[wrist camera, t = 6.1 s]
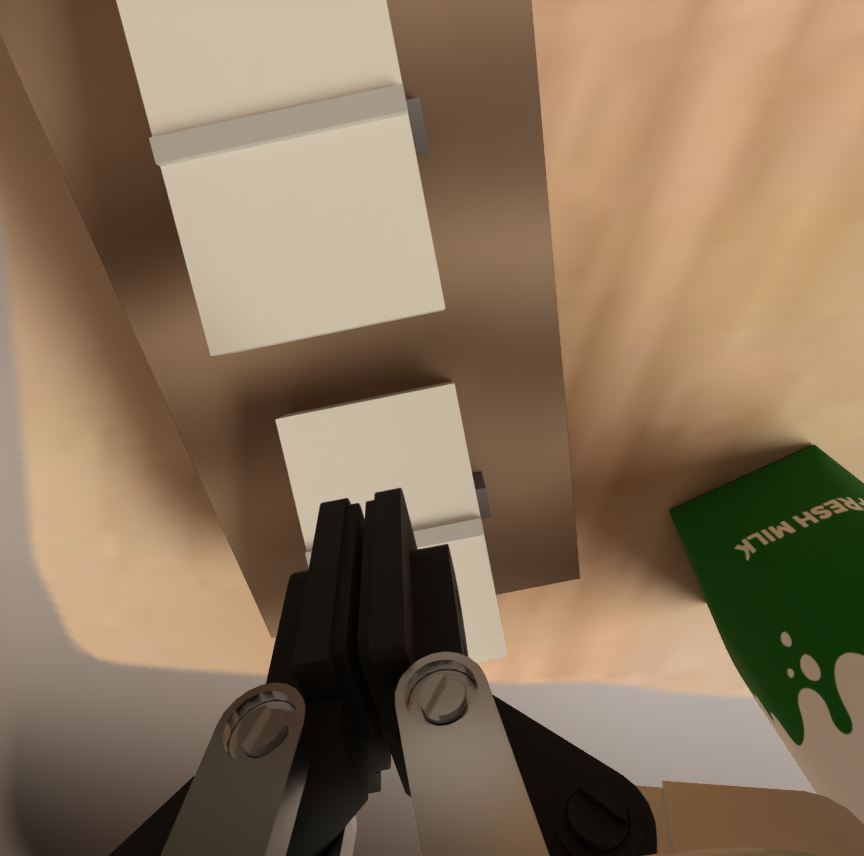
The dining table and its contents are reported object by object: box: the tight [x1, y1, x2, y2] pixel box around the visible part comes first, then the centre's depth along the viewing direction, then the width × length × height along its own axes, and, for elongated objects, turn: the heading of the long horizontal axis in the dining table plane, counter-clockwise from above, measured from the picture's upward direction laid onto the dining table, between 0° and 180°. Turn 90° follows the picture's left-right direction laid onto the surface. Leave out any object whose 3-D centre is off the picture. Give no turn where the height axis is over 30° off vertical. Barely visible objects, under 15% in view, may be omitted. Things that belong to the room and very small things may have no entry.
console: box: [0, 0, 580, 638], centre depth 16 cm, size 32×12×6 cm, turn 10°
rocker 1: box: [116, 0, 445, 356], centre depth 12 cm, size 8×5×2 cm, turn 10°
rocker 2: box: [275, 381, 508, 663], centre depth 17 cm, size 8×5×2 cm, turn 10°
